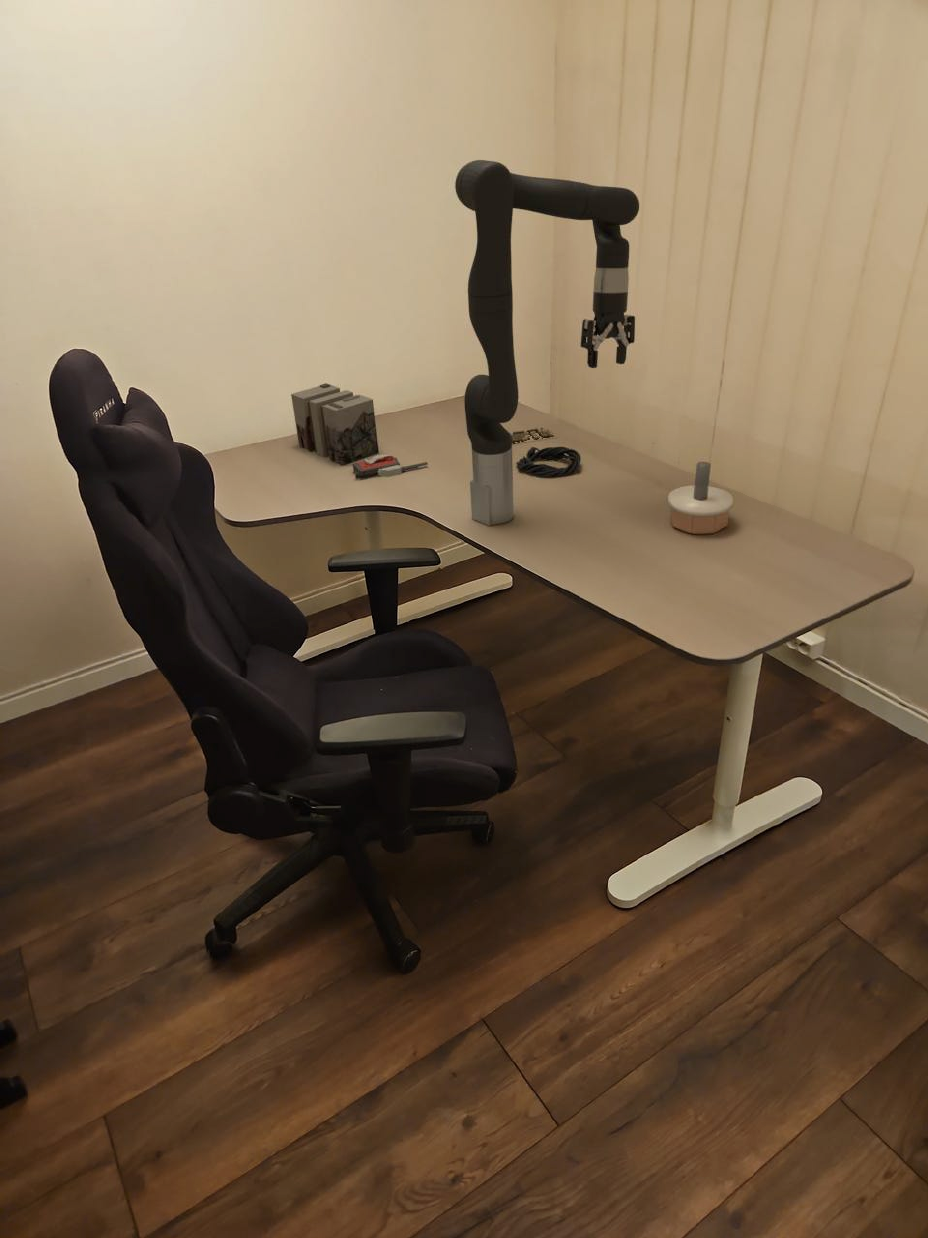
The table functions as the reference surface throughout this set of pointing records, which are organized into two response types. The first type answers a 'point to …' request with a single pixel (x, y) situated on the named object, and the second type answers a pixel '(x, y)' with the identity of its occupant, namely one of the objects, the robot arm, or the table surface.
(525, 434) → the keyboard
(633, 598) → the table surface
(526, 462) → the cable
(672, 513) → the bowl
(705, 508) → the lid
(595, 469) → the table surface
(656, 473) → the table surface
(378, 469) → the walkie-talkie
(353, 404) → the bookend
